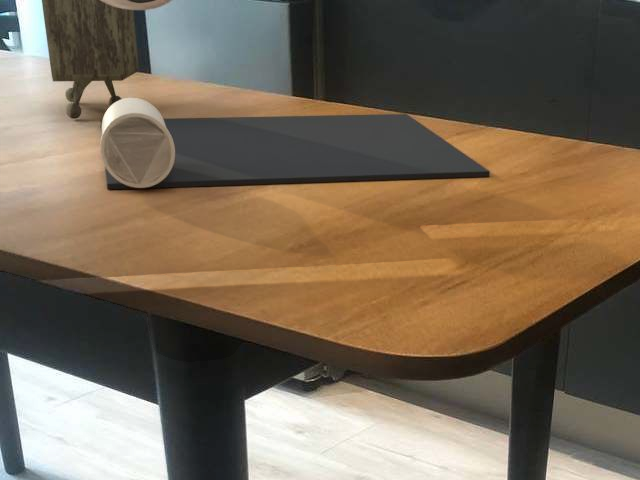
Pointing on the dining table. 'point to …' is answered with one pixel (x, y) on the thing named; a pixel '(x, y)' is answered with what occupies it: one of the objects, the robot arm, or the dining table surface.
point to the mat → (307, 151)
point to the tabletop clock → (89, 46)
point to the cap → (136, 143)
